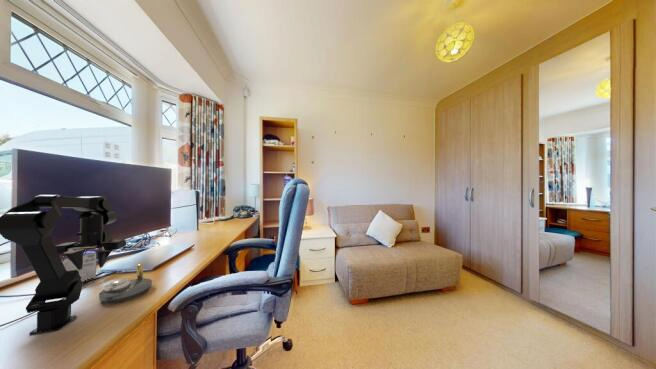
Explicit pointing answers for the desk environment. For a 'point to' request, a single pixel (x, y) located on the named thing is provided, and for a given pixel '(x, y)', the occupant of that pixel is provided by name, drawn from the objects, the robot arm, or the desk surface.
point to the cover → (117, 285)
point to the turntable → (129, 288)
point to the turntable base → (125, 299)
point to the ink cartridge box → (84, 265)
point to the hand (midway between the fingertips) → (91, 268)
